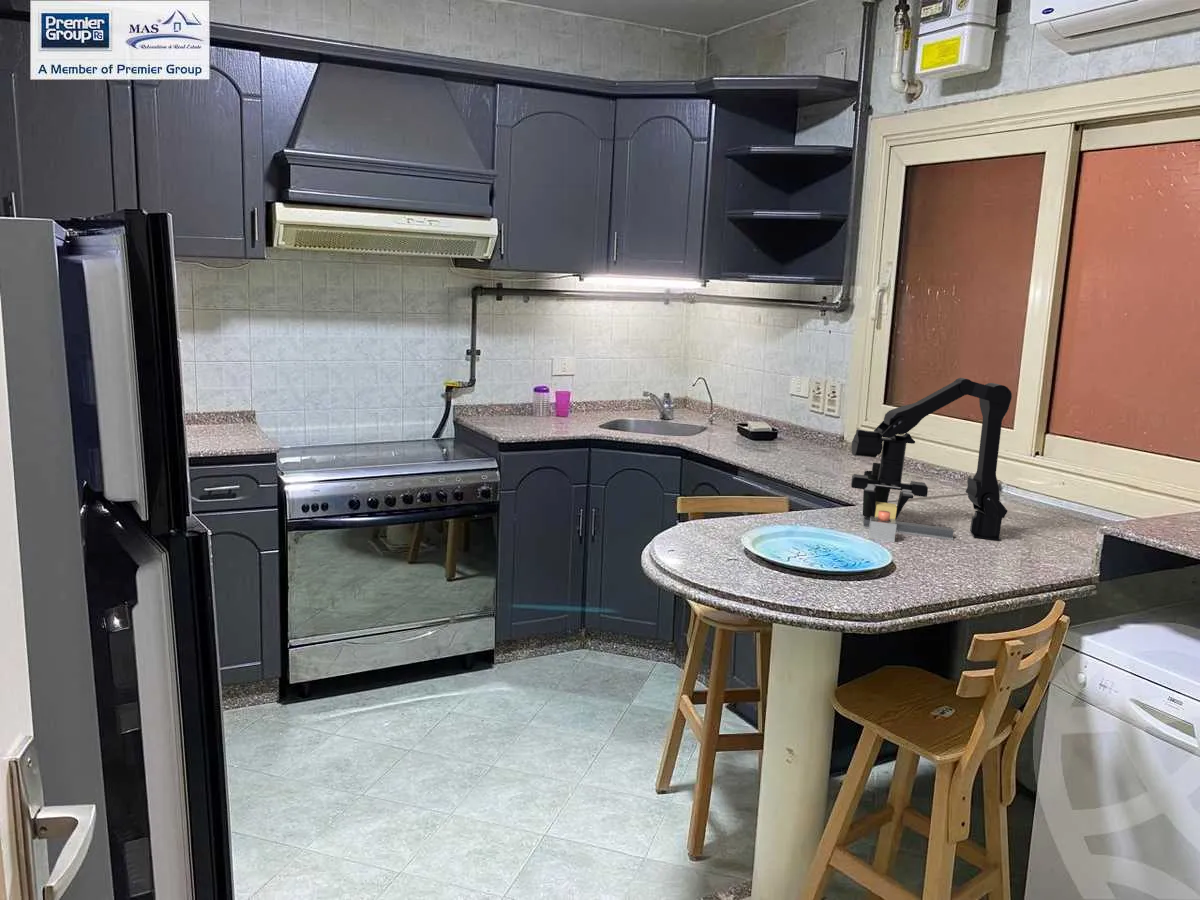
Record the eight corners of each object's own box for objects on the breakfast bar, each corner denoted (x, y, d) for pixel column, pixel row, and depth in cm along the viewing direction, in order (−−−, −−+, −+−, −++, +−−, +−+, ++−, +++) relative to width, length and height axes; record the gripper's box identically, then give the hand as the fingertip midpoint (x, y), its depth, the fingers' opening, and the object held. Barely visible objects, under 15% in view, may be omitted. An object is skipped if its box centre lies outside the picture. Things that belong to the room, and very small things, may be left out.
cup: (881, 521, 252) (887, 477, 250) (854, 515, 256) (860, 472, 254) (891, 517, 258) (897, 474, 256) (865, 511, 262) (870, 469, 260)
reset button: (889, 519, 234) (890, 511, 234) (889, 521, 231) (890, 513, 231) (877, 517, 235) (878, 510, 234) (877, 520, 232) (879, 512, 232)
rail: (950, 534, 243) (951, 527, 243) (952, 540, 237) (954, 532, 237) (862, 522, 248) (863, 515, 248) (863, 528, 242) (864, 520, 242)
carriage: (892, 523, 246) (895, 503, 245) (894, 528, 241) (896, 508, 240) (873, 521, 247) (875, 501, 246) (873, 525, 242) (876, 505, 241)
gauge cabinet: (892, 536, 236) (895, 519, 235) (894, 542, 230) (896, 524, 229) (868, 533, 237) (870, 515, 236) (869, 538, 232) (871, 521, 231)
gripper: (927, 458, 247) (919, 515, 249) (854, 449, 251) (847, 506, 253) (931, 465, 236) (923, 525, 239) (855, 456, 240) (847, 515, 243)
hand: (884, 517), depth 244 cm, fingers closed on carriage, 5 cm apart
